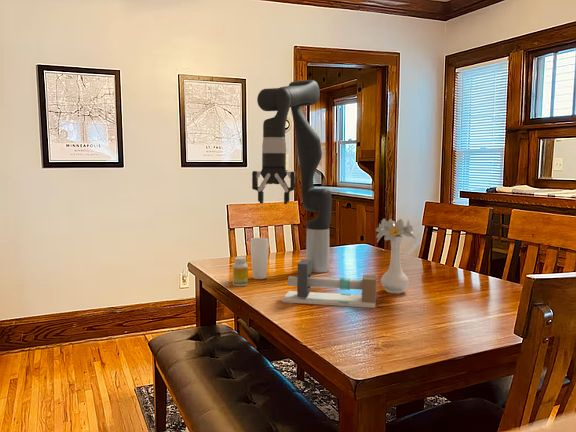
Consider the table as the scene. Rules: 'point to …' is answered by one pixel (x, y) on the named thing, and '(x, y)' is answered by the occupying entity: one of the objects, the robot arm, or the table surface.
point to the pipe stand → (336, 299)
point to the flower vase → (394, 254)
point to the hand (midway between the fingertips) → (273, 203)
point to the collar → (303, 277)
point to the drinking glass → (259, 257)
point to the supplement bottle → (240, 272)
